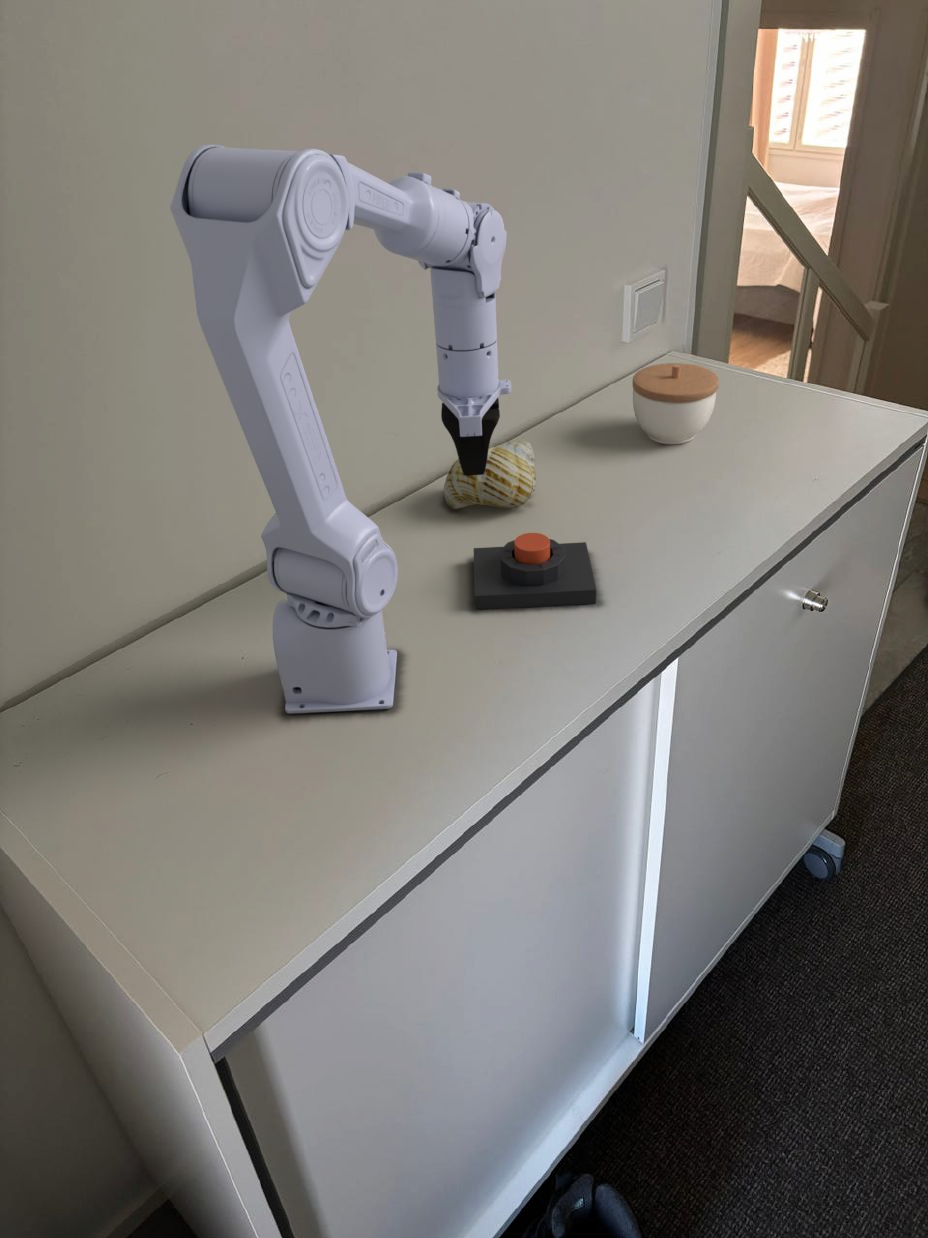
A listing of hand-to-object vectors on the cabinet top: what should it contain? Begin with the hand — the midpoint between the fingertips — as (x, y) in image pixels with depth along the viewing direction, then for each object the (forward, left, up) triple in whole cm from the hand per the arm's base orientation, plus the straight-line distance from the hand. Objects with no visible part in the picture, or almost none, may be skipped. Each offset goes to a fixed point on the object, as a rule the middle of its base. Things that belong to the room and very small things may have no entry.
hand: (473, 472), depth 93 cm
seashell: (+2, +13, -11) cm, 17 cm away
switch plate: (+6, -5, -10) cm, 13 cm away
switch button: (+5, -5, -7) cm, 10 cm away
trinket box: (+26, +28, -11) cm, 40 cm away
